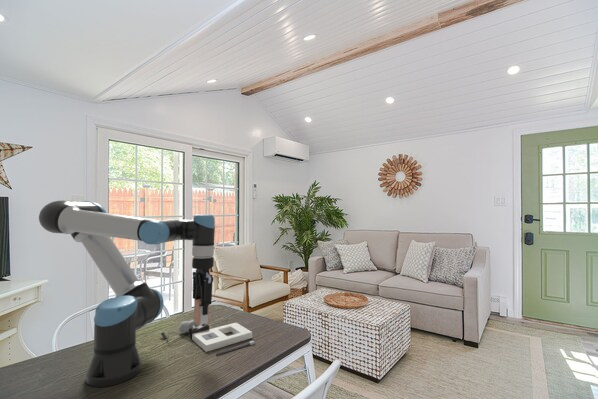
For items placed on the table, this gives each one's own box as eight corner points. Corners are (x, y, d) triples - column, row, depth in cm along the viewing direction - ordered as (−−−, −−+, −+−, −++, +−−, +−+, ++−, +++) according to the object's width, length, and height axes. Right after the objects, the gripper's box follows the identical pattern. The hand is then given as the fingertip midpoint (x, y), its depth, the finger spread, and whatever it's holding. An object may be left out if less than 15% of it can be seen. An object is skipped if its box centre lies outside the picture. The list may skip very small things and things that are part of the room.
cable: (216, 356, 109) (216, 353, 109) (214, 354, 110) (215, 352, 110) (254, 343, 120) (254, 341, 120) (253, 342, 121) (253, 340, 121)
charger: (198, 325, 106) (198, 302, 106) (193, 322, 109) (194, 299, 110) (208, 322, 109) (209, 300, 109) (204, 319, 112) (205, 297, 112)
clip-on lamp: (165, 352, 118) (210, 333, 127) (162, 338, 117) (208, 320, 126) (162, 339, 128) (204, 322, 137) (158, 325, 127) (201, 309, 136)
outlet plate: (205, 351, 113) (206, 344, 113) (192, 339, 123) (192, 332, 123) (252, 337, 125) (252, 331, 126) (235, 327, 136) (236, 321, 136)
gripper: (223, 258, 106) (221, 326, 105) (203, 253, 119) (201, 313, 118) (202, 260, 101) (200, 331, 100) (184, 254, 114) (182, 317, 113)
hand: (201, 321), depth 109 cm, fingers closed on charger, 4 cm apart
